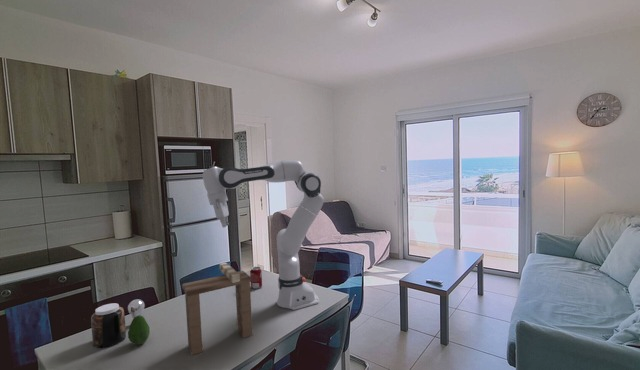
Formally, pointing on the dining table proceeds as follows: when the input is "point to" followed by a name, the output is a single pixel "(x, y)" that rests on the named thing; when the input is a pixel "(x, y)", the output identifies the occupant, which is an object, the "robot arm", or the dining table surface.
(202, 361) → the dining table surface
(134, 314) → the light bulb
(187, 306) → the walnut shelf
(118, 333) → the jar
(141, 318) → the avocado
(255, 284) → the soda can
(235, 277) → the birch bar
